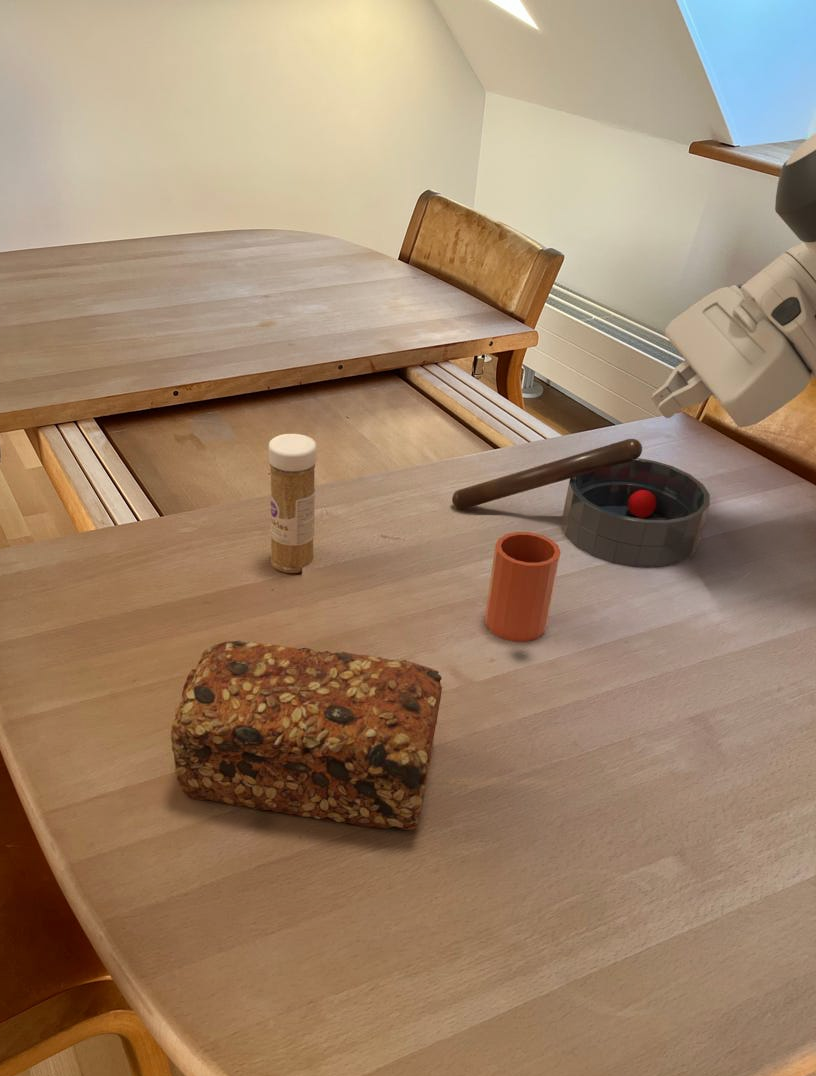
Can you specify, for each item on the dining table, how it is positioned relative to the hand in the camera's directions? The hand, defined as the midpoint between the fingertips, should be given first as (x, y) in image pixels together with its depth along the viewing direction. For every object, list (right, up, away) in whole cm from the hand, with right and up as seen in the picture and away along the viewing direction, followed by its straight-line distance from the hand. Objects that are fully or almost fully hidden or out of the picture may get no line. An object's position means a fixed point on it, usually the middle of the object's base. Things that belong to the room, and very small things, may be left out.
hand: (658, 408), depth 97 cm
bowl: (-1, -12, +8) cm, 14 cm away
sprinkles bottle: (-37, -15, +2) cm, 40 cm away
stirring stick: (-1, -4, +1) cm, 4 cm away
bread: (-34, -34, -22) cm, 53 cm away
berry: (+1, -8, +9) cm, 13 cm away
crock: (-16, -22, -6) cm, 28 cm away
